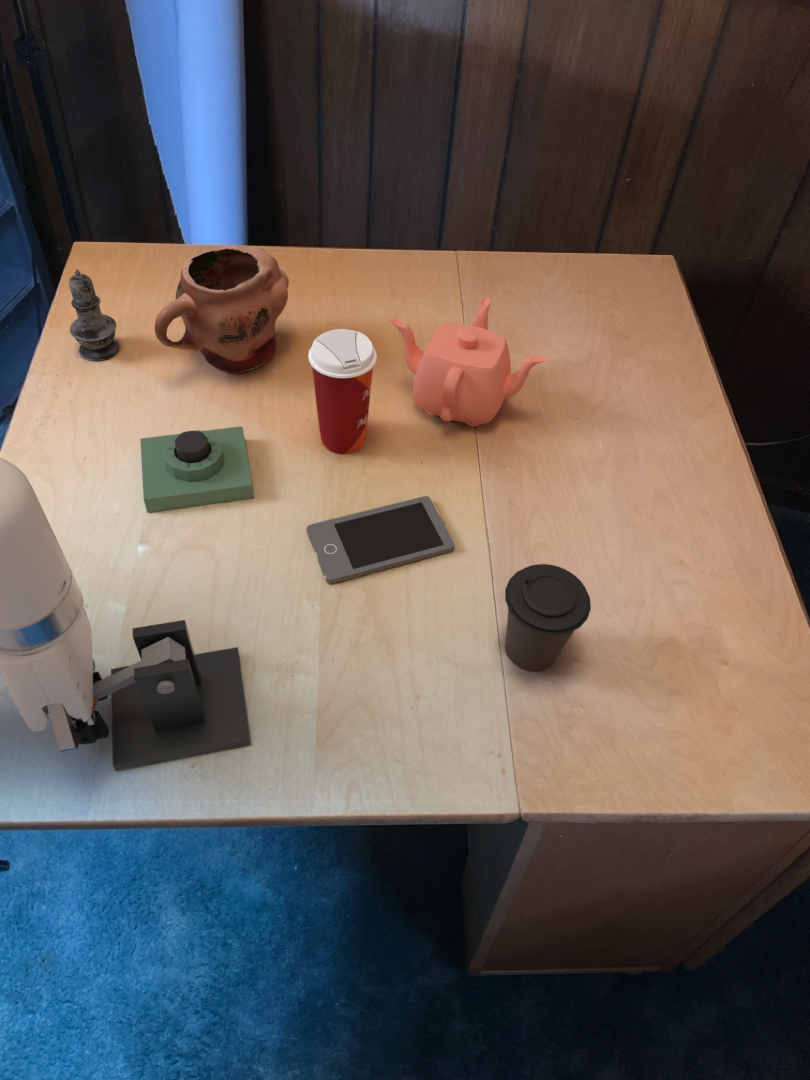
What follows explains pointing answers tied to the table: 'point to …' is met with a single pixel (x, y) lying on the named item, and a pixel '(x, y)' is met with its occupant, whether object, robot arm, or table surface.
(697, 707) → the table surface
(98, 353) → the salt shaker
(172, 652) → the switch lever
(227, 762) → the table surface
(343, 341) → the paper cup
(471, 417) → the teapot
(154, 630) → the lever base
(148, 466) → the control block
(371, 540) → the smartphone
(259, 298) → the decorative planter
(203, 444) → the button
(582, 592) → the coffee cup
